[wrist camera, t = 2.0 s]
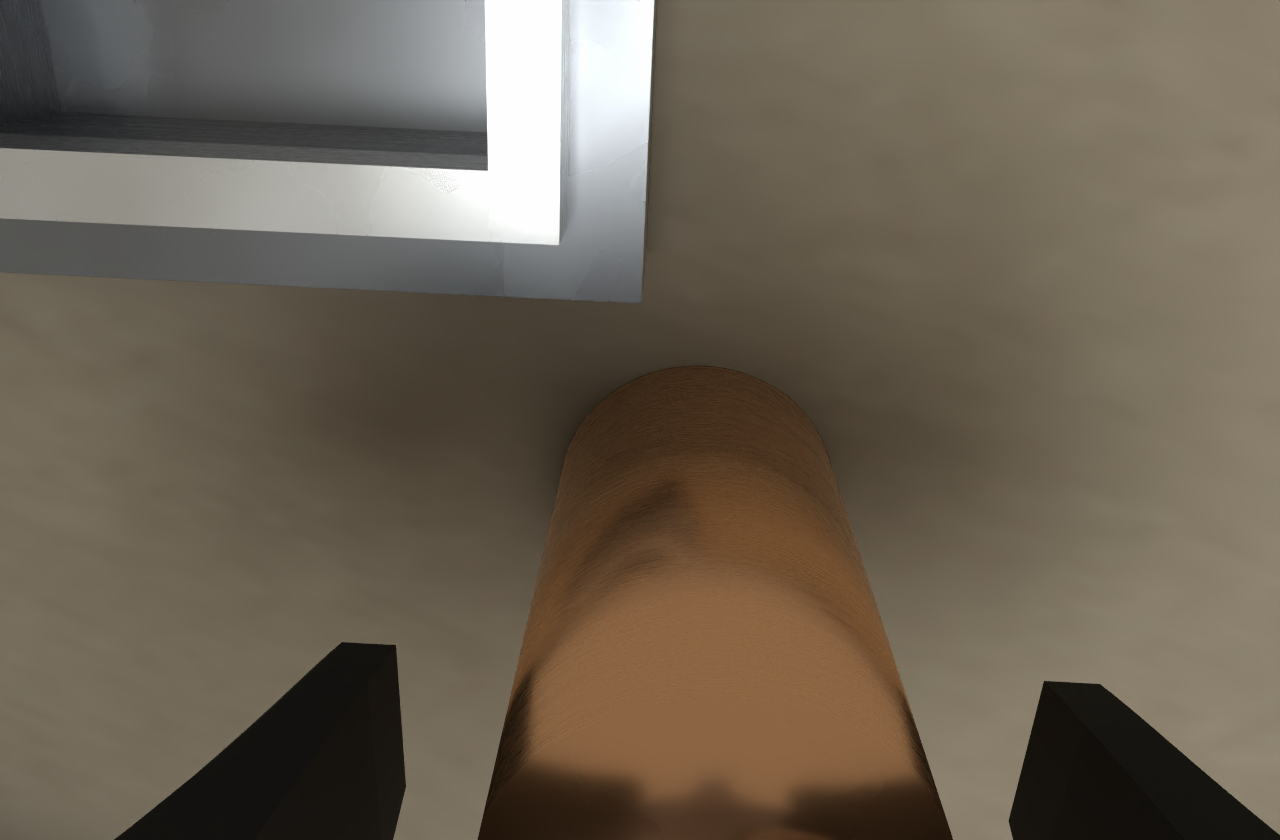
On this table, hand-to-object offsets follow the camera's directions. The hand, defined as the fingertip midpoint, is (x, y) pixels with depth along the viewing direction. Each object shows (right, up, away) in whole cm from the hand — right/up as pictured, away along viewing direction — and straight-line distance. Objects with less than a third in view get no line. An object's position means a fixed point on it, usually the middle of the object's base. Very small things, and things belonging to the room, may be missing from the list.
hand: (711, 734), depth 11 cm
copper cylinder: (0, +2, +5) cm, 6 cm away
